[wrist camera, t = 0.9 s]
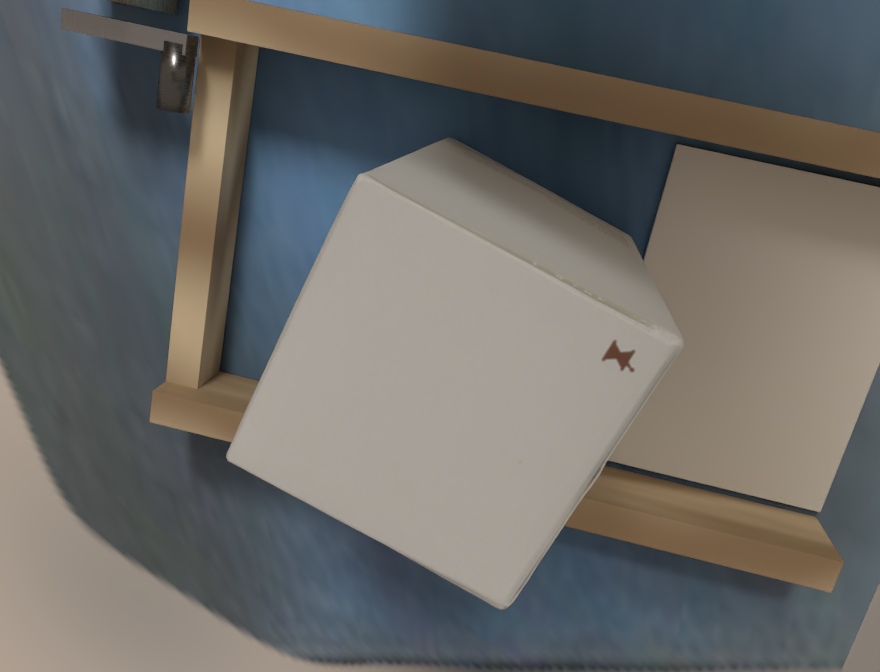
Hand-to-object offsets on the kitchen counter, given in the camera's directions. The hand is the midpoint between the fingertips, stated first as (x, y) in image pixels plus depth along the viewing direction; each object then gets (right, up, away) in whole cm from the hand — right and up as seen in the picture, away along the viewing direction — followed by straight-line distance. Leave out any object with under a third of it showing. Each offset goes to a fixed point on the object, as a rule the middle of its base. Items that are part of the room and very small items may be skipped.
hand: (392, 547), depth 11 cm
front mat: (+11, +3, +16) cm, 20 cm away
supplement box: (+2, +5, +17) cm, 18 cm away
